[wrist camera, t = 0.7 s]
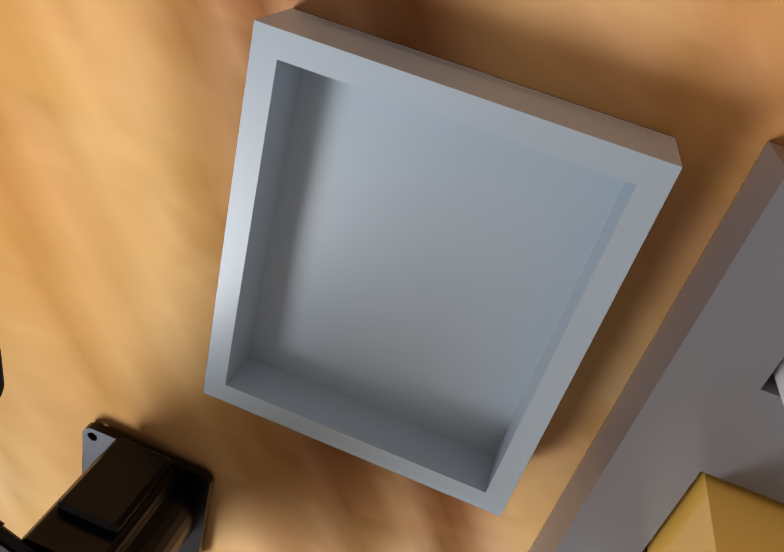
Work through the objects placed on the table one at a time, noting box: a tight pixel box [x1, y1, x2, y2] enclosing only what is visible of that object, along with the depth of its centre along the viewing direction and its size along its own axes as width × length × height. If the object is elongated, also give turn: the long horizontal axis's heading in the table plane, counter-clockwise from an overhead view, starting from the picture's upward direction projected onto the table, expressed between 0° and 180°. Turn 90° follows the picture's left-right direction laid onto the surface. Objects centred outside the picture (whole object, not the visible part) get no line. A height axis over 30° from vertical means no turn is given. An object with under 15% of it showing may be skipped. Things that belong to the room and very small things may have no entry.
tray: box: [203, 8, 683, 516], centre depth 22 cm, size 14×12×2 cm
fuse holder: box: [529, 141, 784, 552], centre depth 23 cm, size 23×8×2 cm, turn 165°
